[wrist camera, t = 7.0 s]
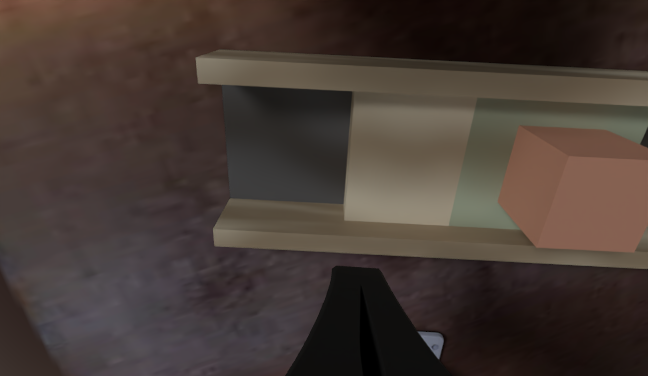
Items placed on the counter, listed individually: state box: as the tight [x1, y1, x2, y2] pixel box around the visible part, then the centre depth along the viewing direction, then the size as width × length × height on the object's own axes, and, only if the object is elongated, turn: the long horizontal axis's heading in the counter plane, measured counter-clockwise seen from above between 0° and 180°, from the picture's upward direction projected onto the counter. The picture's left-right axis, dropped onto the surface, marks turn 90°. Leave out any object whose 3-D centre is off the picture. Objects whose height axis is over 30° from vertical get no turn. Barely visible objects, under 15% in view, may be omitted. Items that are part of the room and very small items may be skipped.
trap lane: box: [196, 49, 648, 269], centre depth 18 cm, size 9×26×4 cm, turn 87°
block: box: [498, 125, 648, 253], centre depth 16 cm, size 4×4×4 cm
